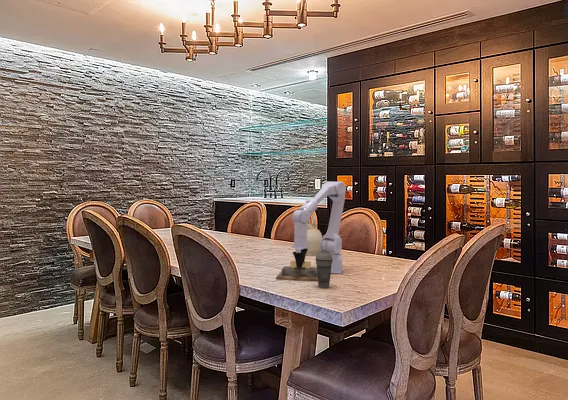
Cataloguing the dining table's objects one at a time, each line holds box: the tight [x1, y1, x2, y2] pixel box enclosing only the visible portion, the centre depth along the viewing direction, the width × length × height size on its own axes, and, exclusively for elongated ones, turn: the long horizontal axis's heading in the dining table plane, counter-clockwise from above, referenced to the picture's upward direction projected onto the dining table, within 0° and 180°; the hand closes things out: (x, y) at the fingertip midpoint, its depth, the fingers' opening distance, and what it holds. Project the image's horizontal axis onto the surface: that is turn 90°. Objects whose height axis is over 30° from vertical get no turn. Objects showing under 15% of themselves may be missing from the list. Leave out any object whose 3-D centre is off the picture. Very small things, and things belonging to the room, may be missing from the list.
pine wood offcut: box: [289, 260, 312, 270], centre depth 197 cm, size 9×3×6 cm, turn 80°
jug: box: [305, 213, 323, 256], centre depth 260 cm, size 15×16×25 cm
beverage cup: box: [314, 239, 333, 289], centre depth 178 cm, size 7×7×20 cm
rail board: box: [275, 265, 318, 282], centre depth 196 cm, size 20×14×4 cm
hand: (300, 265), depth 196 cm, fingers open, 7 cm apart
